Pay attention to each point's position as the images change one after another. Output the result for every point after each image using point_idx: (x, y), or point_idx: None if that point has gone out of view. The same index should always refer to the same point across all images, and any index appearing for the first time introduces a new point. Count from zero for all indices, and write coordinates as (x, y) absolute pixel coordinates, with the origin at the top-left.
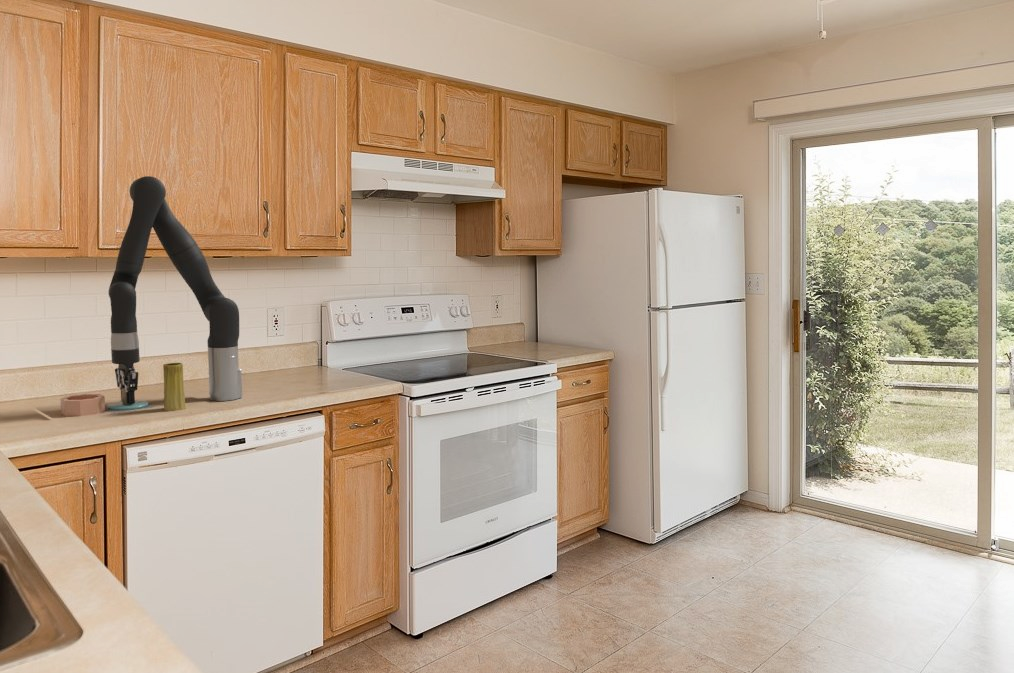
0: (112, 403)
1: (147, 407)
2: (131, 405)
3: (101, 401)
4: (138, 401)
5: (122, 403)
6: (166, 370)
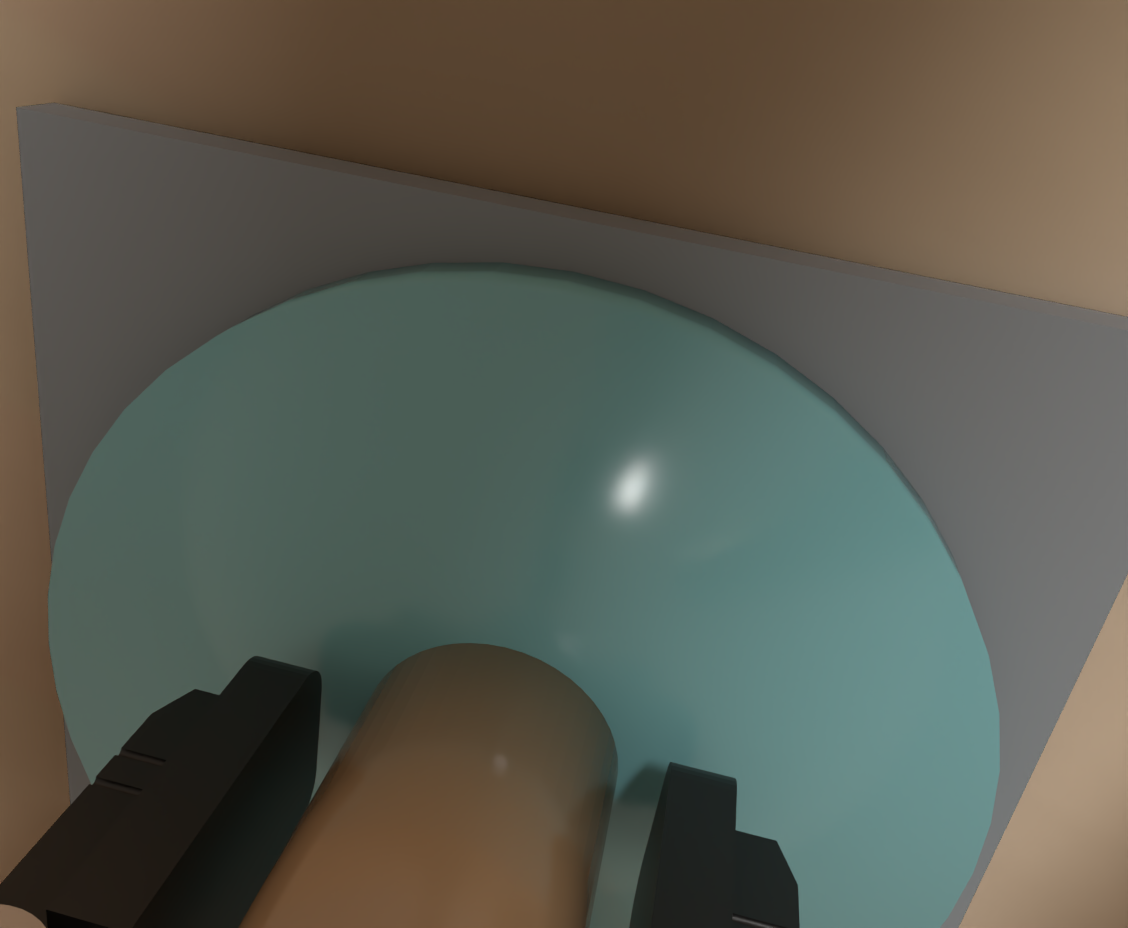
0: None
1: (1059, 544)
2: None
3: None
4: (326, 420)
5: None
6: None
